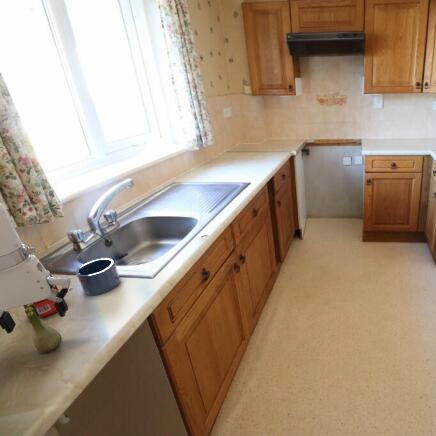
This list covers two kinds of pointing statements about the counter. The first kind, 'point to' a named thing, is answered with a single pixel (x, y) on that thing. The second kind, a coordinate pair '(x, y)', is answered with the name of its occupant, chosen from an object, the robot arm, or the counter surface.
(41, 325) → the fennel bulb
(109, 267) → the crock
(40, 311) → the canned food
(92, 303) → the counter surface
